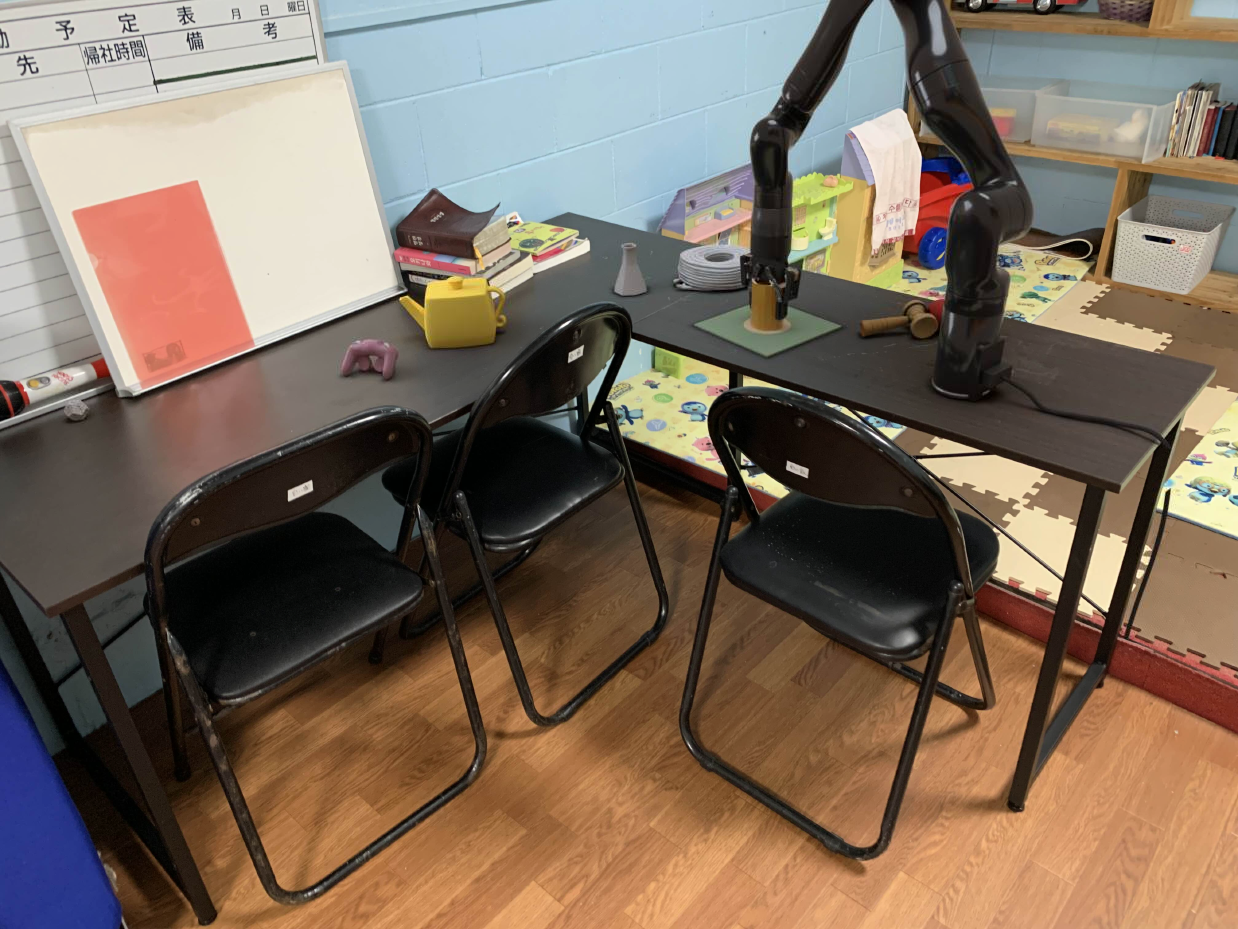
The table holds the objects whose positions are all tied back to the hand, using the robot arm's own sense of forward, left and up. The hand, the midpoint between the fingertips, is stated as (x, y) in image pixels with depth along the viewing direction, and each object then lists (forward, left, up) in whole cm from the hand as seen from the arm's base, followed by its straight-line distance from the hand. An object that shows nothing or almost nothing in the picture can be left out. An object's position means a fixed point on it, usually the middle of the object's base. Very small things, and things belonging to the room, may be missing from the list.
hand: (767, 313), depth 178 cm
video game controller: (+34, +67, -3) cm, 75 cm away
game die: (+52, +113, -3) cm, 124 cm away
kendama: (-20, -17, -3) cm, 26 cm away
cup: (0, 0, -2) cm, 2 cm away
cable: (+26, -11, -3) cm, 28 cm away
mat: (0, 0, -3) cm, 3 cm away
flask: (+34, +7, -3) cm, 35 cm away
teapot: (+38, +47, -3) cm, 61 cm away
